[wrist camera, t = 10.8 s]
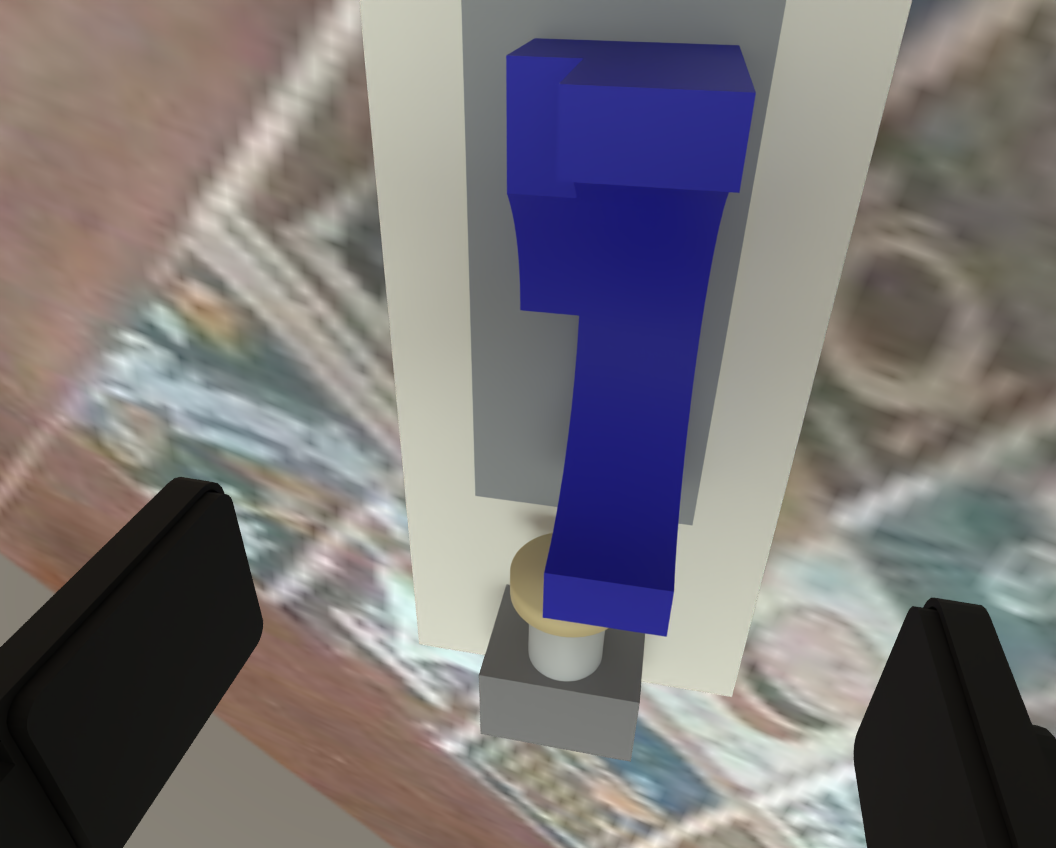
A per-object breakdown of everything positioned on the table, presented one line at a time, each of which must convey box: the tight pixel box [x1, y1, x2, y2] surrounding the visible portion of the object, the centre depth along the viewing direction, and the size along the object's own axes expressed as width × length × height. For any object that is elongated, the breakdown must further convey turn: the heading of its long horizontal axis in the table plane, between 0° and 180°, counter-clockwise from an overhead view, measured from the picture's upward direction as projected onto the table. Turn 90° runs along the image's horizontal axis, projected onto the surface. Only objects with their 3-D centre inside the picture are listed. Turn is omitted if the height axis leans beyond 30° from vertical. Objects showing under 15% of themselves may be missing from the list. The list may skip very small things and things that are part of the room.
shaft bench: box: [359, 0, 912, 762], centre depth 19 cm, size 12×31×6 cm, turn 179°
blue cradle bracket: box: [506, 38, 756, 637], centre depth 17 cm, size 12×4×6 cm, turn 179°
